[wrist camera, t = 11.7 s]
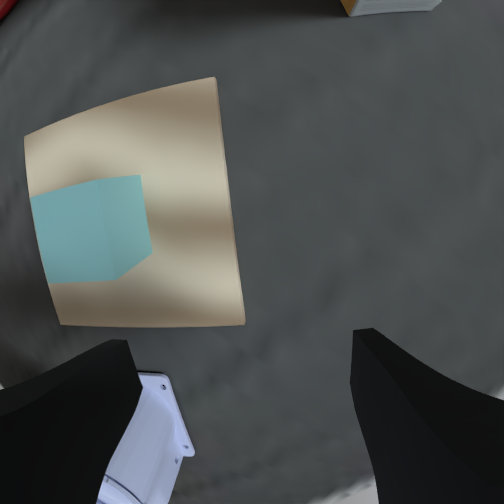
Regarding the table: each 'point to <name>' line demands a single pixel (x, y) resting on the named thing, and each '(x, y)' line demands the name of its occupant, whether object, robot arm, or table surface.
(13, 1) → the liquor
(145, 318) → the birch board
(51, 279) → the teal cube
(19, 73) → the table surface
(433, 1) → the small box
